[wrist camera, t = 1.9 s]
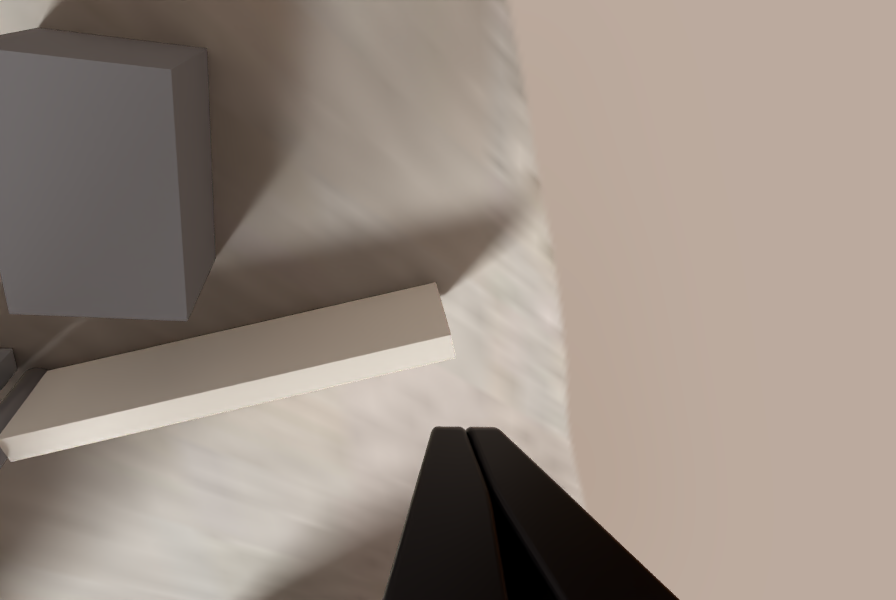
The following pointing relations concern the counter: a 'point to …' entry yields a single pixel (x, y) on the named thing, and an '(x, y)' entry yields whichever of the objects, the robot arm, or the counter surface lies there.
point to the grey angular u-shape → (6, 366)
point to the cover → (223, 372)
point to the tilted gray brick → (104, 176)
